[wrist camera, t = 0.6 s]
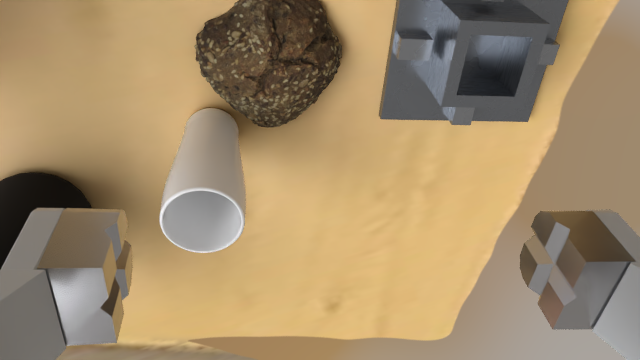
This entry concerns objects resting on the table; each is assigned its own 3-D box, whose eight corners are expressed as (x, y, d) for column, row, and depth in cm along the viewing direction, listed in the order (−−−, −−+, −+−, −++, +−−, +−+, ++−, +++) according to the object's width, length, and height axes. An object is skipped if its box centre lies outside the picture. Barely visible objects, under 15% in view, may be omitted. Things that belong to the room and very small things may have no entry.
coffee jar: (-18, 161, 54) (-117, 295, 39) (95, 172, 56) (41, 302, 41) (-4, 242, 60) (-86, 385, 45) (98, 249, 62) (52, 387, 47)
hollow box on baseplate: (404, -50, 47) (423, -34, 42) (575, -40, 49) (611, -23, 44) (378, 114, 56) (391, 144, 51) (523, 117, 58) (549, 145, 53)
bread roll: (261, 134, 56) (262, 160, 52) (177, 43, 50) (170, 64, 45) (364, 63, 53) (373, 85, 49) (288, -45, 46) (292, -30, 42)
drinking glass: (228, 88, 52) (223, 175, 40) (256, 144, 56) (259, 238, 44) (165, 113, 53) (141, 205, 41) (197, 166, 57) (183, 264, 45)
